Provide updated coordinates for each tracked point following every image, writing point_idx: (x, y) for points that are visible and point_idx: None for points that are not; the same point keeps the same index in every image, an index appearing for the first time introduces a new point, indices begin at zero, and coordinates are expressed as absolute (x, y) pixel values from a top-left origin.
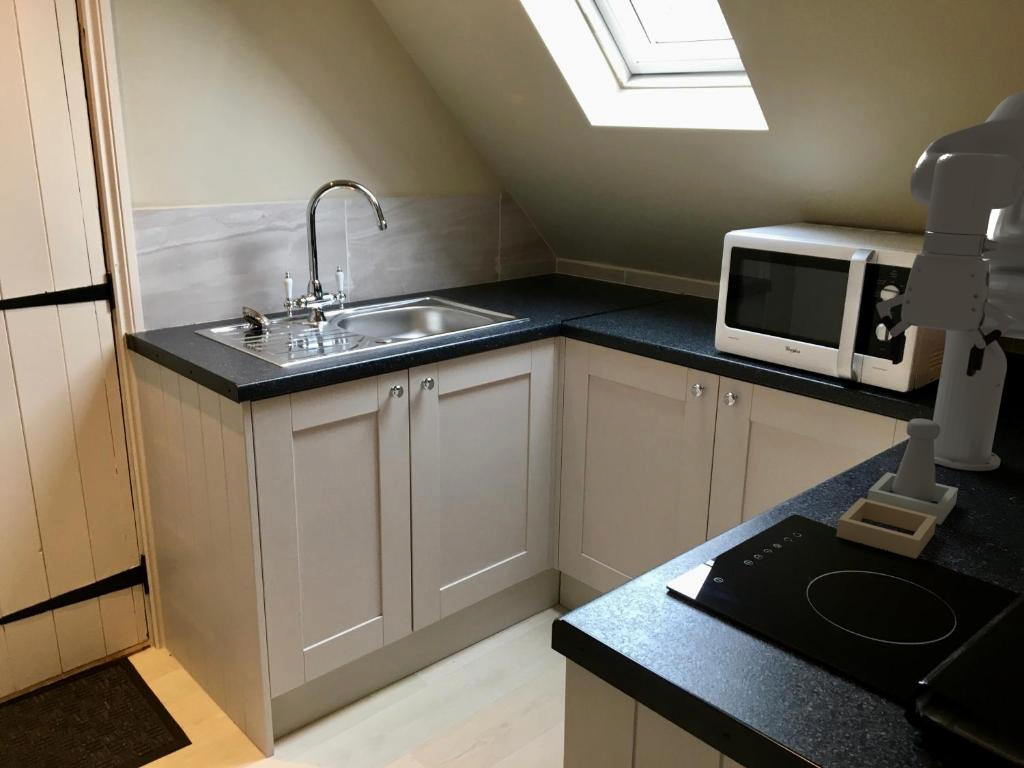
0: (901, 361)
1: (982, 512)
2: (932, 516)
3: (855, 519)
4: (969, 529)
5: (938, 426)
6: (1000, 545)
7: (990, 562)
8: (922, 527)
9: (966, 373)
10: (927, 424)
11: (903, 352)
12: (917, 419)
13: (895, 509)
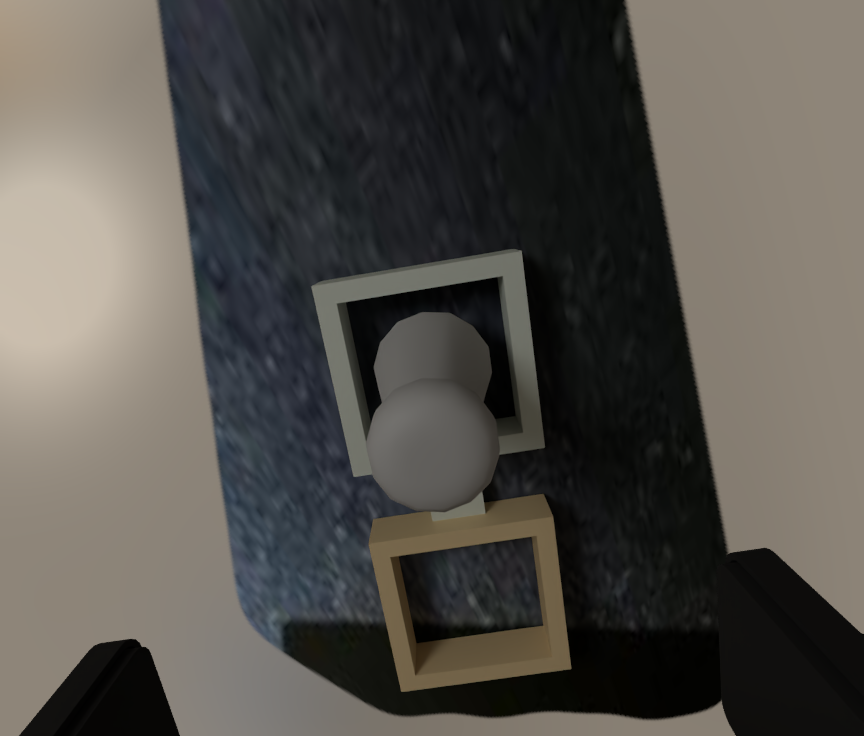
0: (155, 678)
1: (587, 250)
2: (544, 523)
3: (405, 608)
4: (595, 400)
5: (494, 446)
6: (675, 439)
7: (678, 543)
8: (551, 601)
9: (731, 727)
10: (462, 496)
11: (97, 732)
12: (402, 465)
13: (461, 545)
